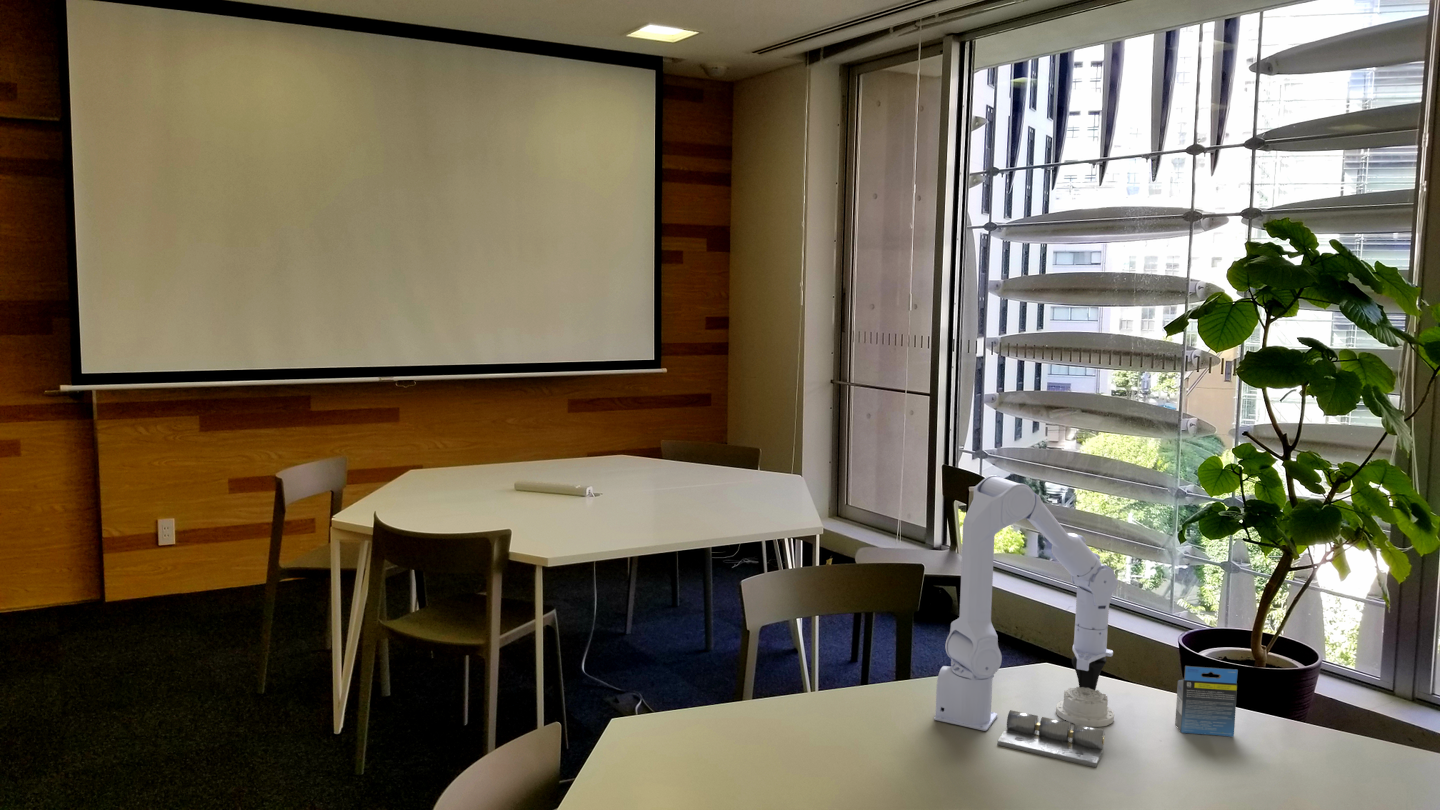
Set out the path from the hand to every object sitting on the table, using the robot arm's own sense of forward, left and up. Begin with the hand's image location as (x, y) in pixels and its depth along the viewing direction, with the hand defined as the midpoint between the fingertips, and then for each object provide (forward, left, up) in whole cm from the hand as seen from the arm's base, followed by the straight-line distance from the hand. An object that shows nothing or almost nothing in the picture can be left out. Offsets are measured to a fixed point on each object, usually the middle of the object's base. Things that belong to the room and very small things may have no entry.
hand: (1087, 695), depth 192 cm
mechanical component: (+1, -5, -2) cm, 6 cm away
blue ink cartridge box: (+20, -1, -2) cm, 20 cm away
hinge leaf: (-2, -22, -2) cm, 22 cm away
